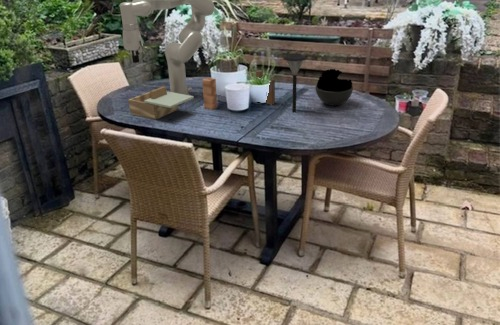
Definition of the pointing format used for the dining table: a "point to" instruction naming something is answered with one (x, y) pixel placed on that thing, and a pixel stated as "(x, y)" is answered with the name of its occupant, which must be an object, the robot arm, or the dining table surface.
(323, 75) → the bowl of black rocks
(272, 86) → the wooden block
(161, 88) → the lid
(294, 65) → the solar garden light
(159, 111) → the toolbox
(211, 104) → the key post
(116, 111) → the dining table surface
